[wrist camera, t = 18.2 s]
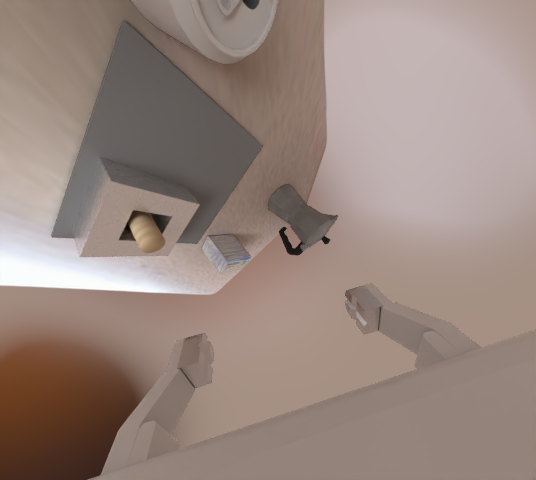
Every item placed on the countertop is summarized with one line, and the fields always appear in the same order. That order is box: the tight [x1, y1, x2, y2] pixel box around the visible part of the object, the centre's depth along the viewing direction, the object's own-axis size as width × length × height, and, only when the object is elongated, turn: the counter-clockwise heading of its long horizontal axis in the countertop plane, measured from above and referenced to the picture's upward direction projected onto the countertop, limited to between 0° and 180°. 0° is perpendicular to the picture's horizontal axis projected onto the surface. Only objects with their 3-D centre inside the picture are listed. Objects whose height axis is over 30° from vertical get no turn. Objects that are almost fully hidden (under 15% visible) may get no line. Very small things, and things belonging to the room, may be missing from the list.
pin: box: [127, 210, 165, 253], centre depth 26 cm, size 3×3×8 cm
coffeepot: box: [268, 184, 338, 255], centre depth 49 cm, size 15×9×18 cm, turn 107°
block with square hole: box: [72, 157, 200, 257], centre depth 27 cm, size 11×11×5 cm
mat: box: [51, 20, 263, 244], centre depth 29 cm, size 22×25×1 cm
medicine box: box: [202, 234, 251, 274], centre depth 46 cm, size 8×4×9 cm, turn 52°
